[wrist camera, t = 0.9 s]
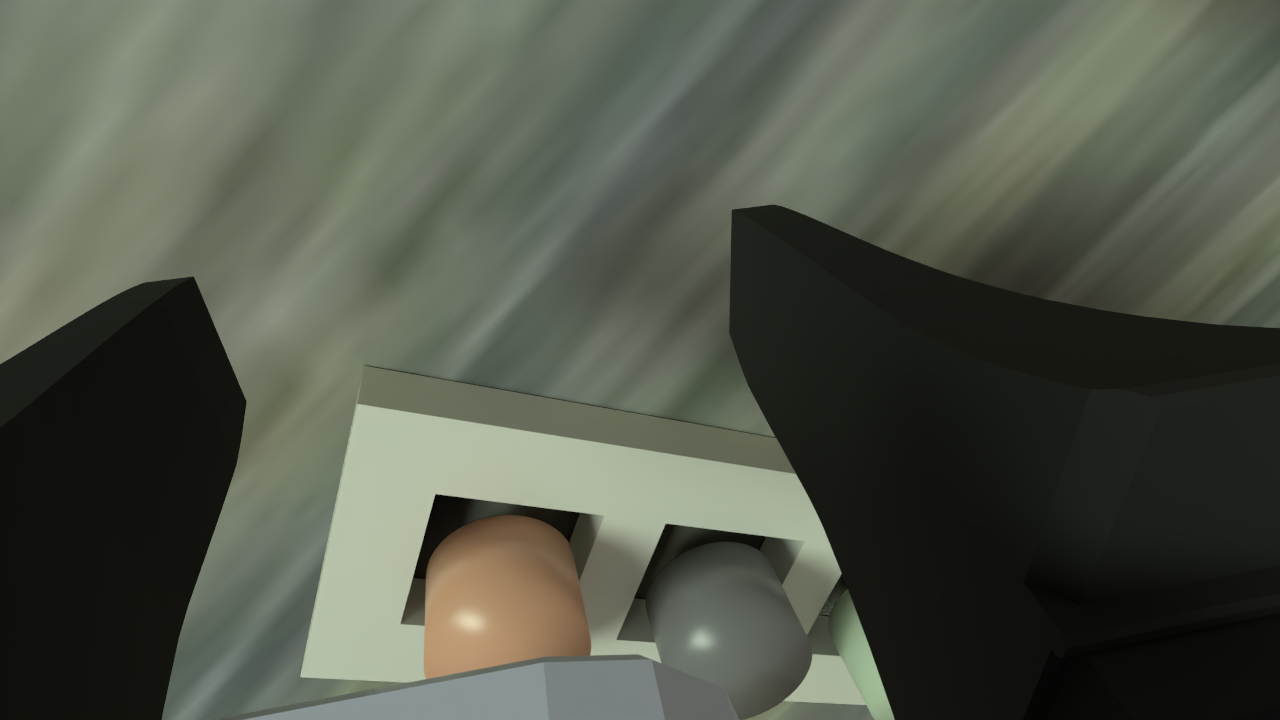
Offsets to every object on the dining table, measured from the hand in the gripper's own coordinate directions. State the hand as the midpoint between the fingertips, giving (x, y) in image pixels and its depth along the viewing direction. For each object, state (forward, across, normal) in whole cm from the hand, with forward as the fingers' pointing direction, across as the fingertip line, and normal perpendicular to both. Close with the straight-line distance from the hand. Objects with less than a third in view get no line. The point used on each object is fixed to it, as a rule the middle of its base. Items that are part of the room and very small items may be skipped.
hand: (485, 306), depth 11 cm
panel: (+9, -5, +16) cm, 19 cm away
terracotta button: (+7, +1, +13) cm, 15 cm away
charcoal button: (+7, -5, +16) cm, 18 cm away
